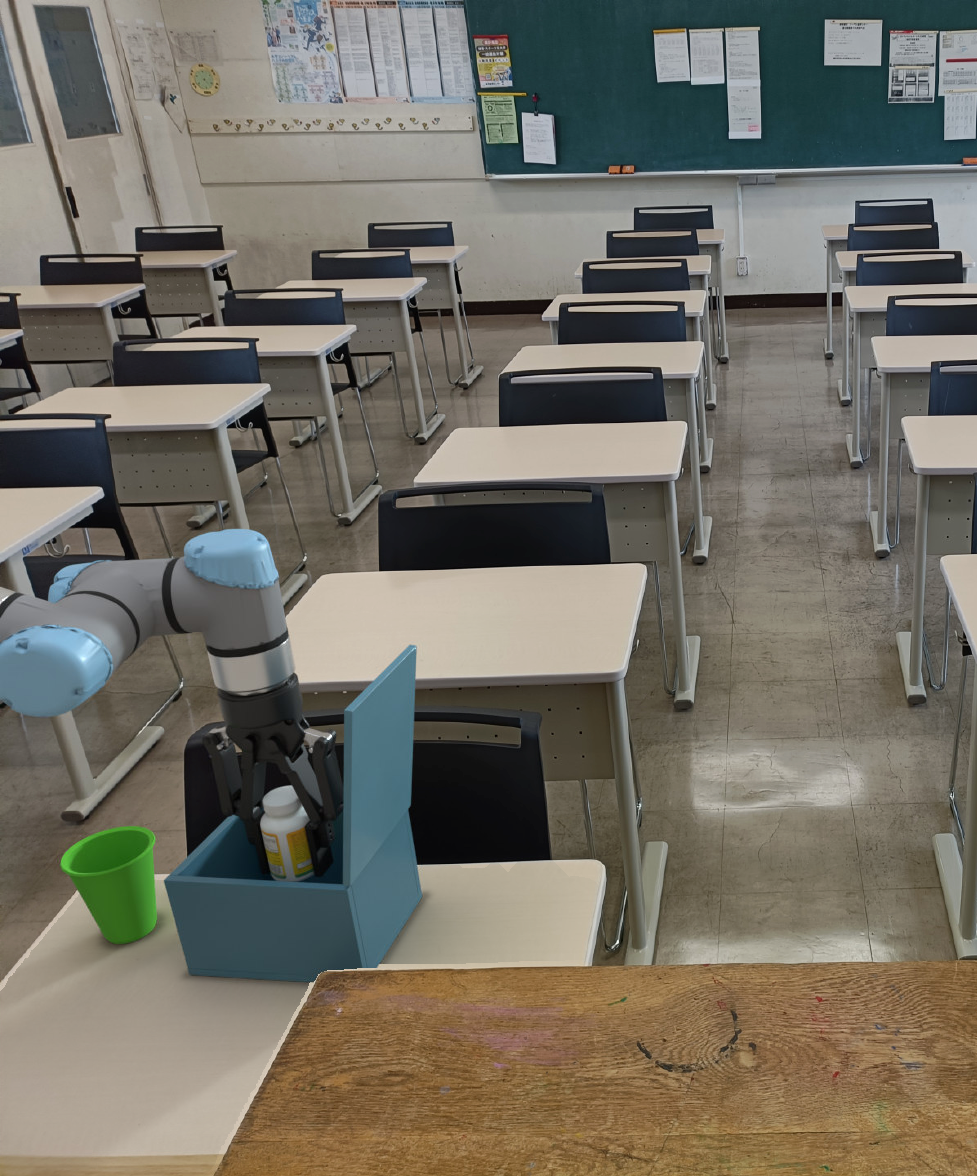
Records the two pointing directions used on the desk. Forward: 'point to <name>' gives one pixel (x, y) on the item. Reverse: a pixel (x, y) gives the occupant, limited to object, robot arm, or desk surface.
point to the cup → (116, 880)
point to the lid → (377, 762)
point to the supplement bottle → (286, 836)
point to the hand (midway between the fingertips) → (298, 867)
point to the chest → (289, 908)
